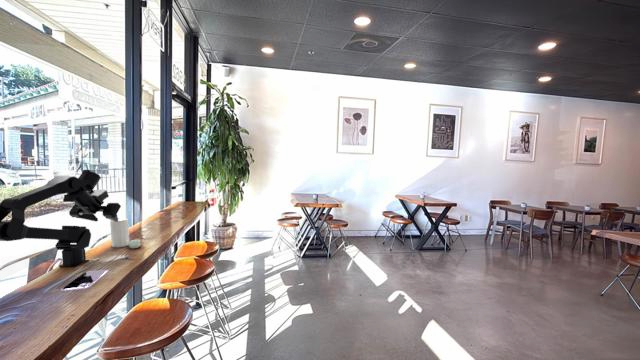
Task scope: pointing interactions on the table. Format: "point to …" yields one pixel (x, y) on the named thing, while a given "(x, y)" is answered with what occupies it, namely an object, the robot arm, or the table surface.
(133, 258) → the table surface
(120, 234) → the white rounded tall piece
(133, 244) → the sage bowl
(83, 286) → the mobile phone
